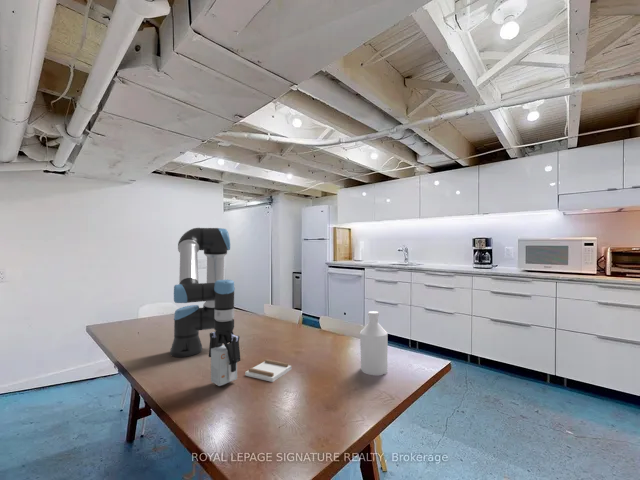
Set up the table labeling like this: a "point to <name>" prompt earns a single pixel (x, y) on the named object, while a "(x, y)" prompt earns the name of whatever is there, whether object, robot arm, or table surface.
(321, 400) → the table surface
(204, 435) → the table surface
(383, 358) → the bottle
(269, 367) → the base plate
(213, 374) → the small box
